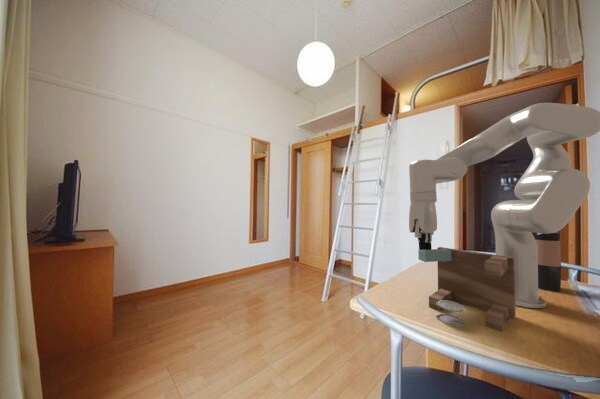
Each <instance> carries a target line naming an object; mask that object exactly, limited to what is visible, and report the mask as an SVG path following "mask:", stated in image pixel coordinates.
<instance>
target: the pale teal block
mask: <svg viewBox="0 0 600 399" xmlns="http://www.w3.org/2000/svg"><path fill="white" fill-rule="evenodd" d="M444 248H445V247H443V248H440V249H437V248H436V249H432V248H431V249H429V250H419V249H418V260H419V261H422V262H424V263H431V262H438V261H443V262H446V261H452V253H451V251H450V250H446V249H444Z"/></svg>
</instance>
